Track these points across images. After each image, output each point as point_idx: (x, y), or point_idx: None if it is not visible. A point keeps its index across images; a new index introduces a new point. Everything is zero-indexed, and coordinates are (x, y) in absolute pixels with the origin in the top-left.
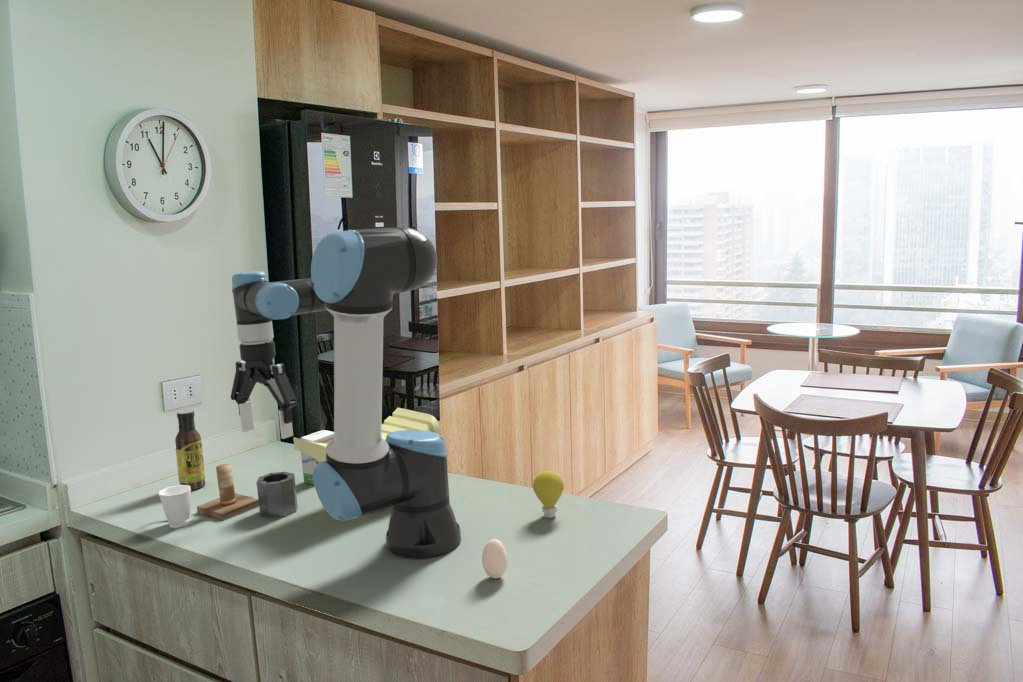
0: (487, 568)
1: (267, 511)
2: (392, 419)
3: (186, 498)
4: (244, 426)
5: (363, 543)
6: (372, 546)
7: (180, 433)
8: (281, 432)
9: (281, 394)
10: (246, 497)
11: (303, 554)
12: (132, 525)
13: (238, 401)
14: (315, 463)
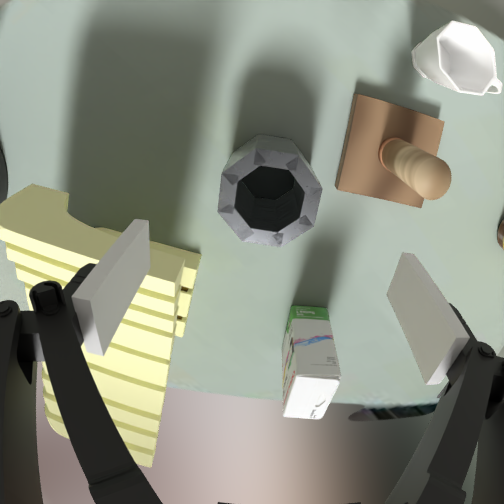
0: None
1: (262, 136)
2: (137, 440)
3: (431, 54)
4: (409, 268)
5: (23, 129)
6: (9, 129)
7: None
8: (133, 231)
9: (3, 369)
10: (375, 191)
11: (70, 47)
12: (497, 47)
13: (478, 350)
14: (293, 337)
